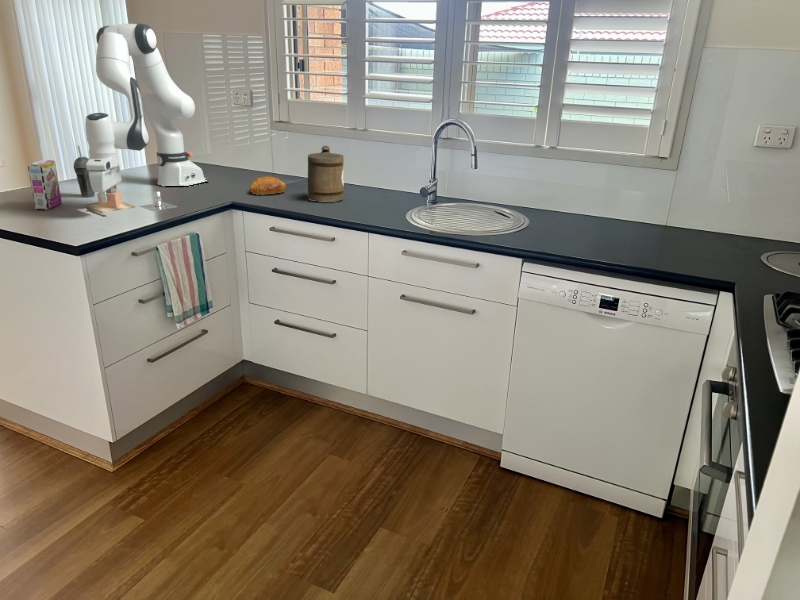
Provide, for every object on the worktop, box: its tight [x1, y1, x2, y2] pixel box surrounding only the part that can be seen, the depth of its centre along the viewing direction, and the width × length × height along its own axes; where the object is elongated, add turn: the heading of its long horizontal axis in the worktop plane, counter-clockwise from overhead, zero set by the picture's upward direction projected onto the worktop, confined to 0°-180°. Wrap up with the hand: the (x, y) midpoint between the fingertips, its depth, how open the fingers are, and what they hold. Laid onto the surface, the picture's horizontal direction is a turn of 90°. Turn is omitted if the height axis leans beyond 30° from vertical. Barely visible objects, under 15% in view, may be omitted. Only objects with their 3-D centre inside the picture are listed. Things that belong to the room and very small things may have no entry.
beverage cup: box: [73, 145, 96, 199], centre depth 235 cm, size 7×7×20 cm
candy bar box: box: [27, 159, 63, 211], centre depth 218 cm, size 11×5×16 cm, turn 5°
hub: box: [86, 187, 136, 218], centre depth 217 cm, size 12×12×8 cm
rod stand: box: [138, 190, 178, 212], centre depth 221 cm, size 10×10×7 cm
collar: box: [96, 190, 123, 208], centre depth 217 cm, size 6×6×5 cm
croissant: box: [249, 176, 287, 194], centre depth 257 cm, size 14×16×8 cm
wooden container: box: [307, 145, 345, 201], centre depth 246 cm, size 15×15×22 cm
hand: (109, 199), depth 217 cm, fingers open, 8 cm apart
